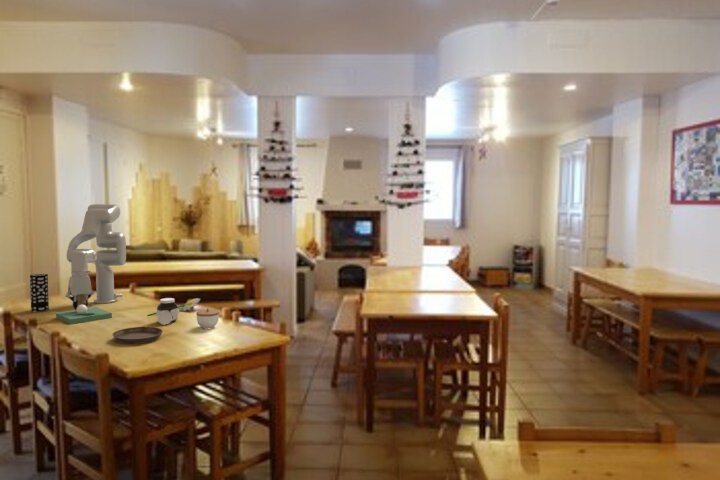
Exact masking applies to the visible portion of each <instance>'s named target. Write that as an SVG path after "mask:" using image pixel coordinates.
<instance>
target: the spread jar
mask: <svg viewBox="0 0 720 480" xmlns="http://www.w3.org/2000/svg"><path fill="white" fill-rule="evenodd" d="M159 302H160V303H159V304H158V305H157V307H156V312H157V314H156V319H157V322H158V323H159V324H160V325H162V326H167V325H169V324H171V323H170V322H172V323H174V322H176V321H177V320H178V318H179V309H178V305H177V303H175V298H174V297H173V298H172V297H165V298H161V299H159ZM166 324H167V325H166Z"/></svg>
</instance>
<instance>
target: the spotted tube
mask: <svg viewBox="0 0 720 480" xmlns="http://www.w3.org/2000/svg"><path fill="white" fill-rule="evenodd" d="M29 290H30V311H31V312H33V313H40V312H41V313H42V312H46V311H49V310H50V304H49V303H50V302H49V301H50V300H49V299H50V298H49V274H47V273H35V274H34V273H33V274H30V275H29Z"/></svg>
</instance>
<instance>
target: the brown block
mask: <svg viewBox="0 0 720 480" xmlns="http://www.w3.org/2000/svg"><path fill="white" fill-rule="evenodd" d="M76 301H77V307H78V306H79V305H85V306H86V294H78V295H77V299H76ZM74 310H76V309H74Z"/></svg>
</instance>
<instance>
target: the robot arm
mask: <svg viewBox="0 0 720 480" xmlns="http://www.w3.org/2000/svg"><path fill="white" fill-rule="evenodd" d="M84 214H85V215H84V219H83V224H82V227H81V231H80V232H78V233H77V234H76V235H75V236H73V238H71V240H70V242H69V243H68V246H67V250H66V260H67V261H68V263H71V264H70V265H71V267H70V268H71V269H70V270H71V276H69V278H68V287H67V288H68V289H67V292H66V294H65V298H67V299H69V300H70V301H72V307H73V308H74V309H73V310H75V309H76V308H77V301H76V299H77V295H78V294H86V307H87V308H88V305H89V303H88V302H89V299H90V298H91V297H92V296H93V295H95V292H94V290H93V289H92V283H91V278H90V275H89V274H91V270H89V269H88V266H89V265H88V264H90V263H94V265H95V278H96V279H95V280H96V282H95V283H96V286H95V288H96V299H94V300H93V303H94V304H111V303H114V302H117V301H118V298H121V297H123V293H115V284H114V283H115V280H114V279H115V278H114V276H115V274H114V273H115V272H114V270H113V269H112V268H111V266H113V267H115V266H116V267H117V266H118V267H119V266H120V267H121V266H124V265H125V264H126V261H127V247H126V245H127V241H126V236H125V234H124V233H123V232H114V231H112V227H113V226H112V223H114V222H115V221H117V219H118V218H119V217H120V215H121V208H120V206H118V205H117V204H111V203H110V204H105V203H103V204H102V203H100V204H99V203H97V204H96V203H93V204H90V205H88V207H87V209H86V211H85V213H84ZM95 238H96V239H95ZM93 239H95V240H96V241H95V243H96V246H97V247H98V248H100V250H97V251H96V250H95V249H91V248H78V247H79V246H80V245H81V244H82V243H85V242H88V241H90V240H93ZM101 249H102V250H101Z"/></svg>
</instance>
